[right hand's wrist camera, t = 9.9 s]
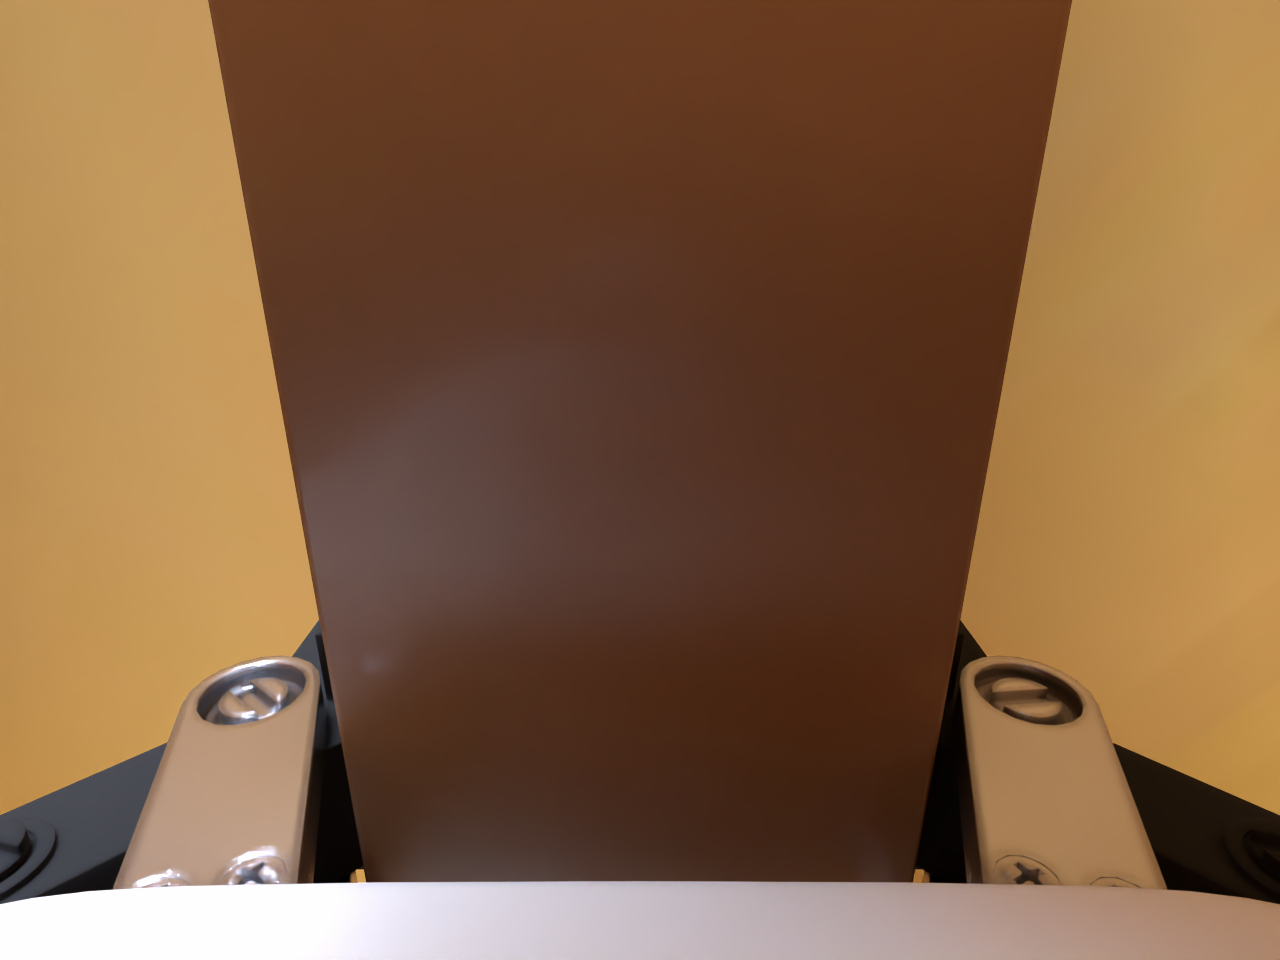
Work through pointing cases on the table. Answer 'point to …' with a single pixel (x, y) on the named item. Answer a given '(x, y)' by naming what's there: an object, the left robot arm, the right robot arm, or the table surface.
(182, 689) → the table surface
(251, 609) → the table surface
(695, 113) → the post
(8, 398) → the table surface
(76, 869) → the right robot arm
